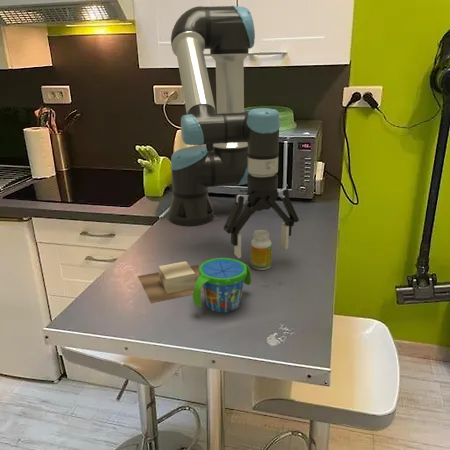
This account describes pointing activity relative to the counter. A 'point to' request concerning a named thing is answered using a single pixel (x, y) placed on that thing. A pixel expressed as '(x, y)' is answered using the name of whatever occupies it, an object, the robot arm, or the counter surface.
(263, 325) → the counter surface
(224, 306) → the snack cup
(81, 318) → the counter surface
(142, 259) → the counter surface
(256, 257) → the supplement bottle
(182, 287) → the birch block
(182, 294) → the board
